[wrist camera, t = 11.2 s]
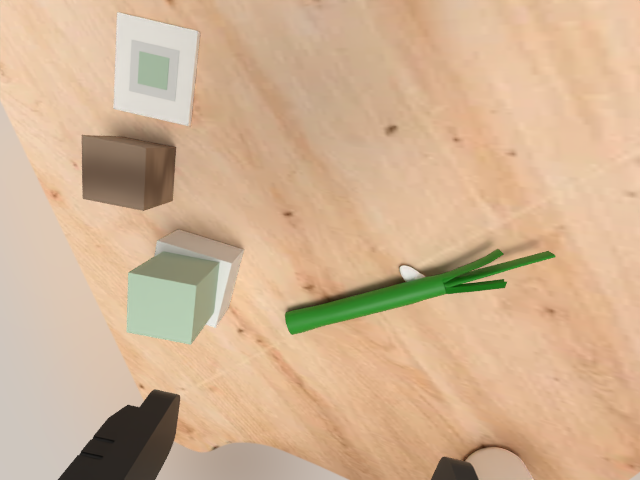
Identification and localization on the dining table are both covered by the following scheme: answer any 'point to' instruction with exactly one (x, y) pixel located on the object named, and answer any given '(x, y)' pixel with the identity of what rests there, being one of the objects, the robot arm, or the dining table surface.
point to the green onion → (407, 292)
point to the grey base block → (211, 251)
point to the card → (155, 69)
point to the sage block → (171, 297)
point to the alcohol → (498, 465)
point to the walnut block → (127, 171)
